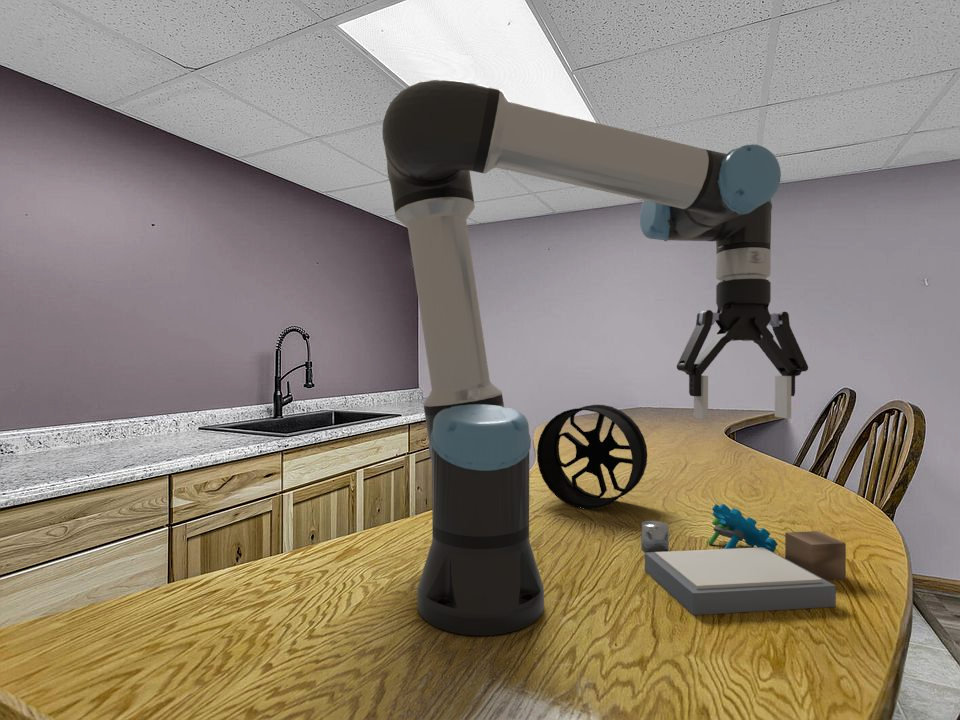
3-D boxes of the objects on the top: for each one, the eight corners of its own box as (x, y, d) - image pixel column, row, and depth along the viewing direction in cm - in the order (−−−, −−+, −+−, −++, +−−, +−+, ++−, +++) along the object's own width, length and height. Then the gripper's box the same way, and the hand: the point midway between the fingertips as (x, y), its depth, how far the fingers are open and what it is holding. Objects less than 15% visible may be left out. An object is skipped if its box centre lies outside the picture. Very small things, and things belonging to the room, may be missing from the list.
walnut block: (811, 582, 70) (811, 544, 70) (785, 567, 75) (785, 532, 75) (845, 580, 71) (845, 543, 71) (817, 565, 76) (817, 531, 76)
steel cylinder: (648, 555, 79) (648, 529, 79) (637, 546, 83) (637, 521, 83) (673, 554, 80) (673, 528, 80) (661, 545, 84) (661, 520, 84)
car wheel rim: (647, 505, 107) (647, 406, 107) (632, 517, 99) (632, 410, 99) (556, 491, 118) (556, 402, 118) (536, 502, 109) (536, 405, 109)
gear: (794, 552, 76) (746, 504, 76) (772, 584, 75) (723, 536, 74) (742, 537, 87) (700, 496, 87) (722, 566, 86) (679, 523, 85)
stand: (693, 615, 61) (693, 589, 61) (644, 570, 74) (644, 549, 74) (835, 606, 63) (835, 582, 63) (764, 564, 76) (764, 544, 76)
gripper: (678, 274, 76) (677, 421, 76) (835, 278, 79) (835, 420, 79) (655, 282, 84) (654, 415, 83) (799, 285, 87) (798, 414, 87)
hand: (742, 418), depth 81 cm, fingers open, 13 cm apart
